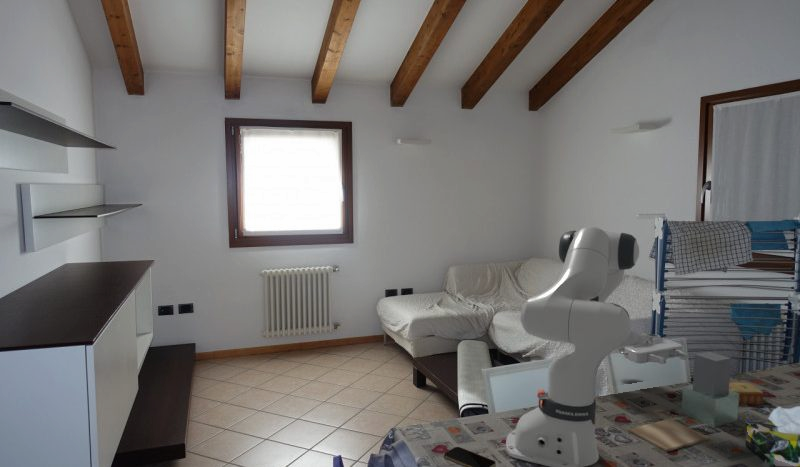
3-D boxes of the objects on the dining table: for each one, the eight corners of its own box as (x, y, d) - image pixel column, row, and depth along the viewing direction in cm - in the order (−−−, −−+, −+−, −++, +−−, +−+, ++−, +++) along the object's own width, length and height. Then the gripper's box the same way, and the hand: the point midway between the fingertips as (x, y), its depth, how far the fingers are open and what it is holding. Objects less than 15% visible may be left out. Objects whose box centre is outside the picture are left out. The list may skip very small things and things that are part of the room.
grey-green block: (713, 427, 145) (716, 385, 144) (681, 412, 154) (683, 373, 153) (737, 420, 149) (740, 379, 148) (704, 407, 158) (706, 368, 157)
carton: (763, 405, 160) (764, 391, 160) (709, 403, 161) (709, 390, 161) (747, 394, 169) (748, 381, 168) (695, 392, 170) (696, 380, 169)
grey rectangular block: (713, 395, 146) (716, 361, 145) (692, 387, 152) (694, 354, 151) (728, 392, 149) (731, 358, 148) (707, 384, 155) (709, 351, 154)
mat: (666, 451, 131) (666, 449, 131) (628, 431, 142) (628, 429, 142) (709, 439, 138) (709, 437, 138) (669, 420, 148) (669, 418, 148)
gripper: (615, 340, 169) (651, 353, 156) (660, 333, 177) (698, 345, 164) (614, 359, 169) (650, 373, 157) (659, 352, 178) (696, 364, 165)
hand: (675, 359), depth 161 cm, fingers open, 8 cm apart
